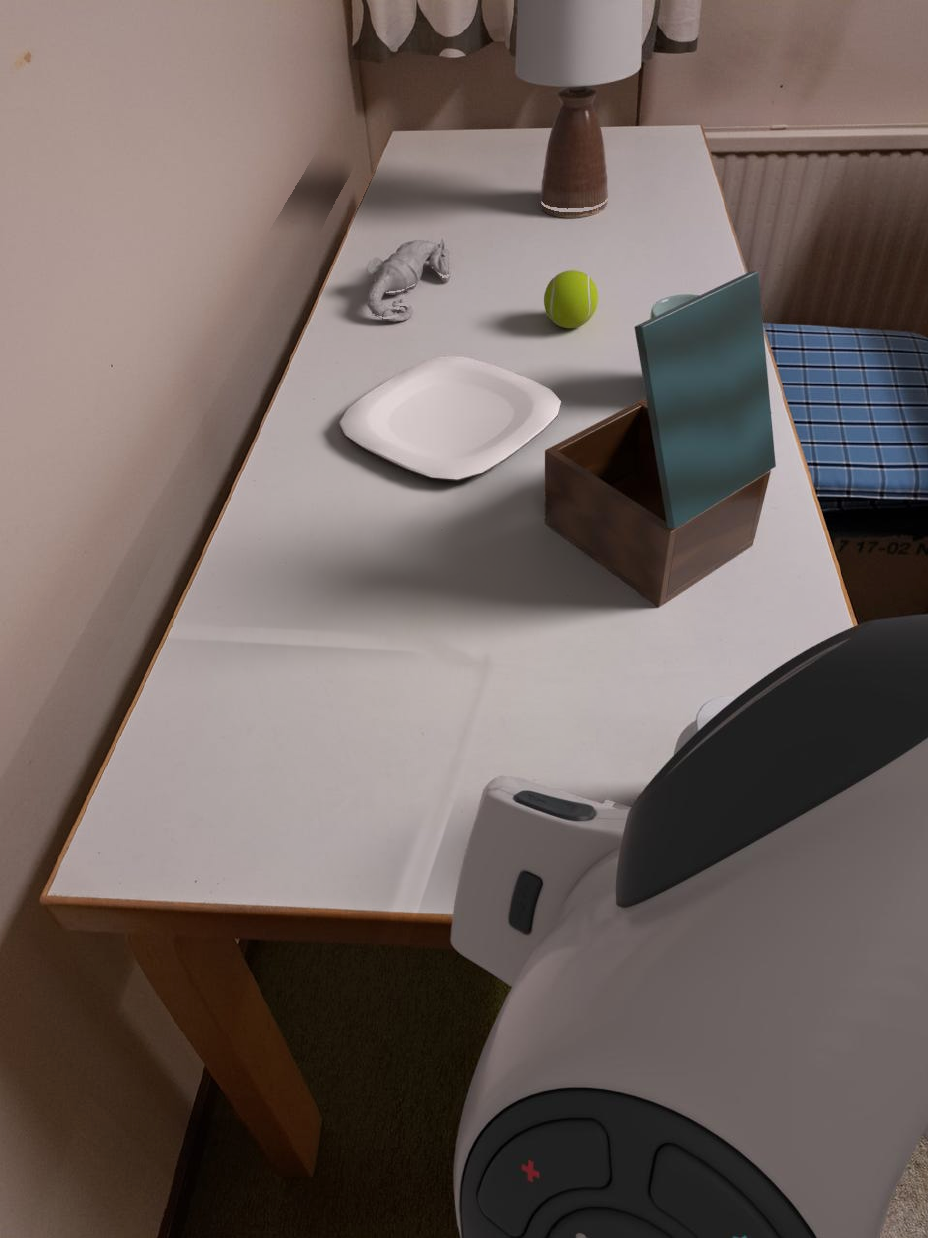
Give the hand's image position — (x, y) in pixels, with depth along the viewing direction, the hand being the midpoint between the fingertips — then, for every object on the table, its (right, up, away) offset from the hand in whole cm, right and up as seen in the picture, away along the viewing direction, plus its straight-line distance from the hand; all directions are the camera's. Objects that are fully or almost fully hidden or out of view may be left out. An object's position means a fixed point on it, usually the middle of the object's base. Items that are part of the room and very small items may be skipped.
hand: (707, 847), depth 42 cm
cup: (+13, +38, +56) cm, 69 cm away
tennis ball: (+2, +51, +69) cm, 86 cm away
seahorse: (-20, +59, +79) cm, 100 cm away
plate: (-14, +34, +55) cm, 66 cm away
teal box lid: (+7, +29, +24) cm, 38 cm away
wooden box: (+5, +20, +39) cm, 44 cm away
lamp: (+6, +80, +97) cm, 126 cm away
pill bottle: (+5, -3, +18) cm, 19 cm away
